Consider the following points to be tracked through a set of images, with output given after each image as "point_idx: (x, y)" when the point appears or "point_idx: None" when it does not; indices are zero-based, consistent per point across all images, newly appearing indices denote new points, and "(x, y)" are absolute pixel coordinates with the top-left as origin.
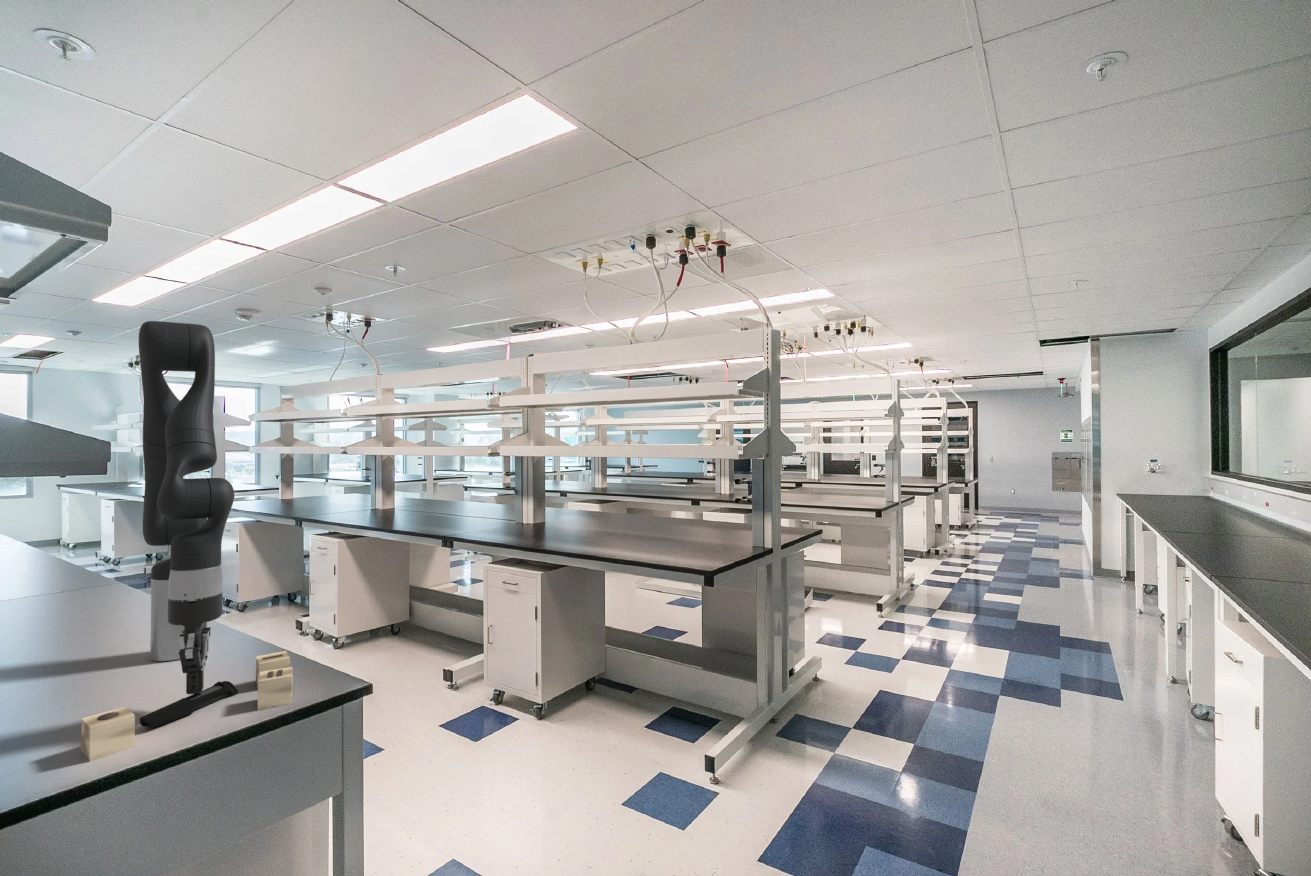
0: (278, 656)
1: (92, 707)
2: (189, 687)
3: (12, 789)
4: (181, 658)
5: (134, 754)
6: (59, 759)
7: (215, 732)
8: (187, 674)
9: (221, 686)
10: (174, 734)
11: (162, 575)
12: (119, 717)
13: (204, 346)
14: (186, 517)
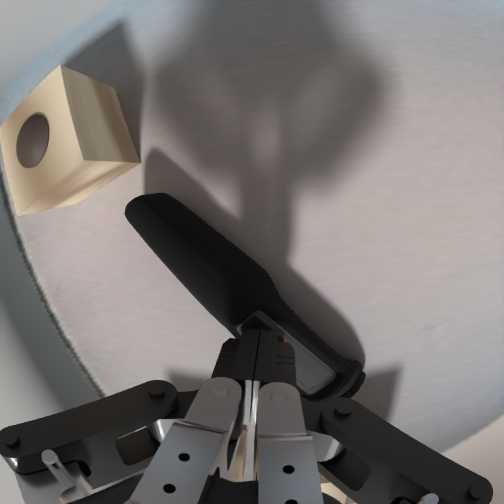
0: (345, 500)
1: (444, 56)
2: (222, 350)
3: (33, 60)
4: (29, 425)
5: (47, 213)
6: (97, 65)
7: (91, 349)
8: (231, 377)
9: (312, 394)
10: (105, 279)
11: None
12: (17, 177)
13: None
14: None
